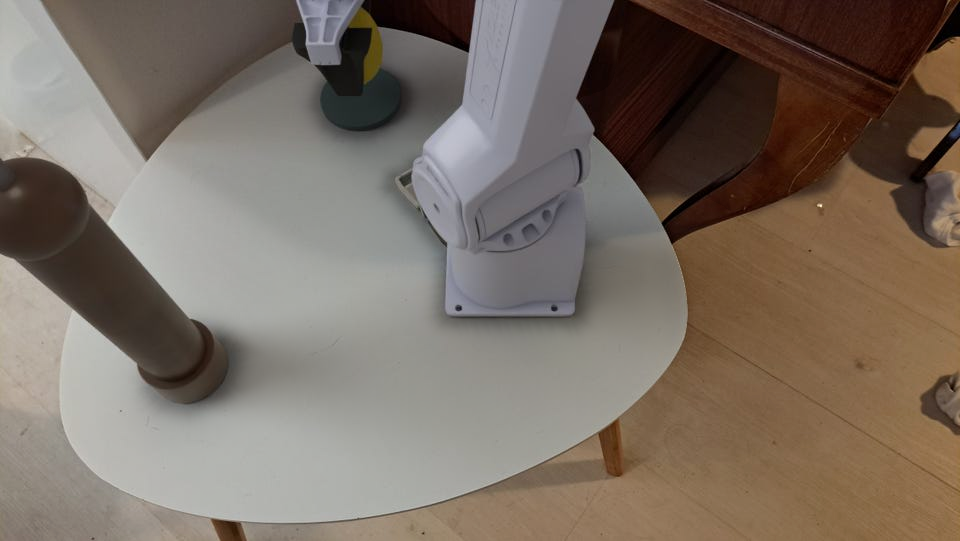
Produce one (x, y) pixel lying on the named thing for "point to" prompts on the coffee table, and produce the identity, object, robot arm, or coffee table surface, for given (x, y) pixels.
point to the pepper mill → (103, 279)
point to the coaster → (363, 104)
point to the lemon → (376, 47)
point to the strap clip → (414, 199)
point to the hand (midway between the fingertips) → (353, 64)
